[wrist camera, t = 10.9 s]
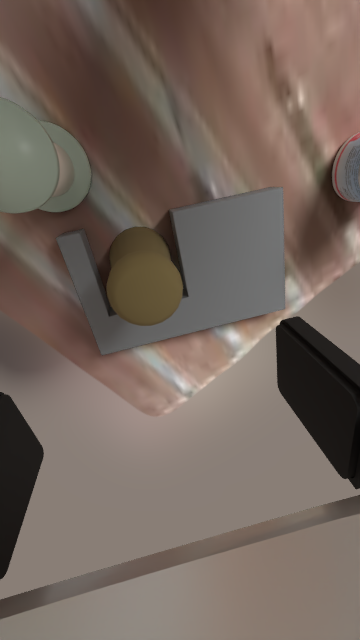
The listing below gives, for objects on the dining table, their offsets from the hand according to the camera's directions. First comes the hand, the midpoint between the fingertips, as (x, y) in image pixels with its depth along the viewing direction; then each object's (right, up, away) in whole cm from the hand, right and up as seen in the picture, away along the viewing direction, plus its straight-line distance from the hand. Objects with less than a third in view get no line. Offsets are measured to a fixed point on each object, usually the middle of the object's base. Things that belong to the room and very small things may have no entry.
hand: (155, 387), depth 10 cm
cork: (-3, +9, +18) cm, 20 cm away
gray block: (+1, +7, +19) cm, 20 cm away
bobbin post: (-10, +15, +13) cm, 22 cm away
